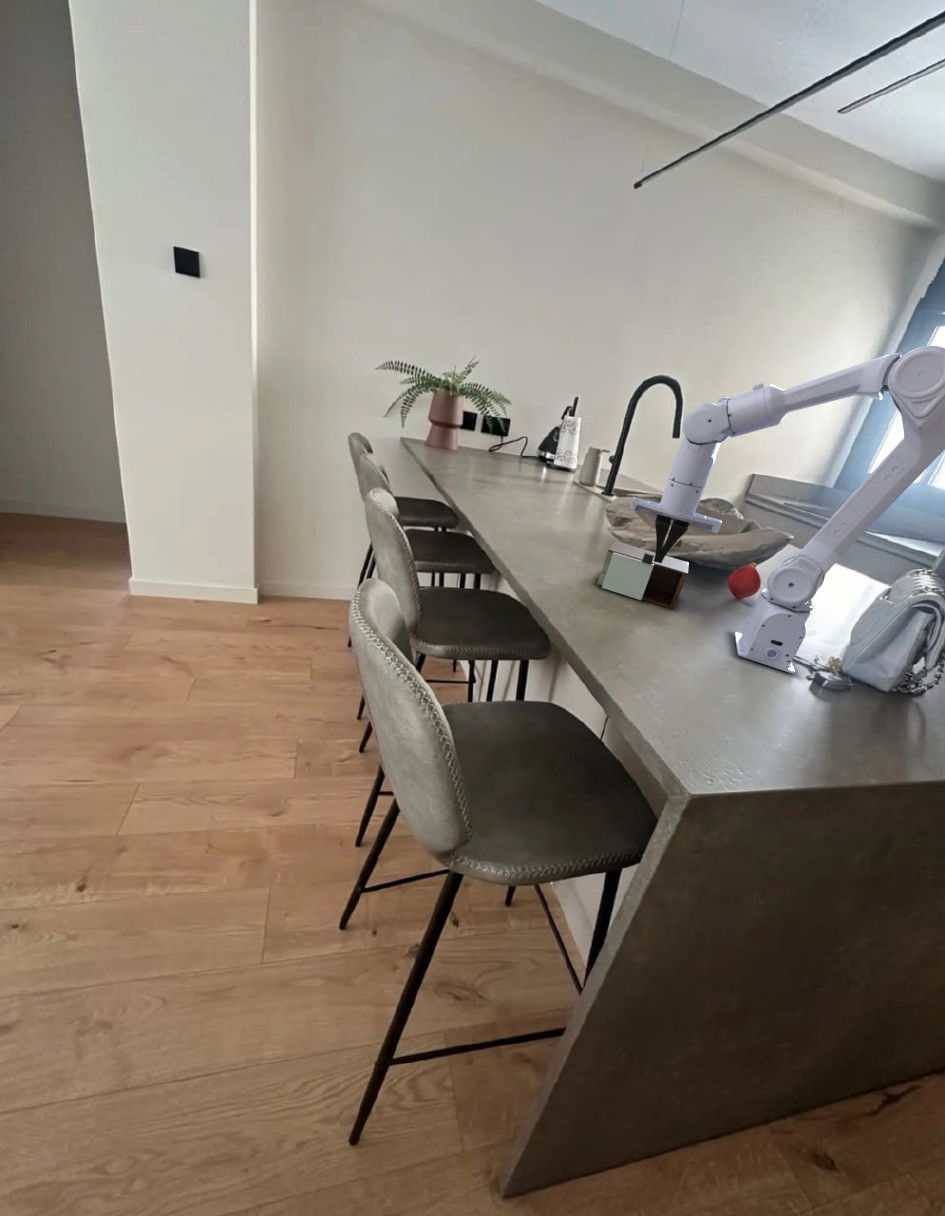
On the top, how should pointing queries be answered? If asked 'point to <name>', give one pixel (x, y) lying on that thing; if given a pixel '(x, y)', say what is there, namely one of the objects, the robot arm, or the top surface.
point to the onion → (744, 581)
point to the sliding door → (628, 575)
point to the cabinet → (653, 575)
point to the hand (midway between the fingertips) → (657, 561)
